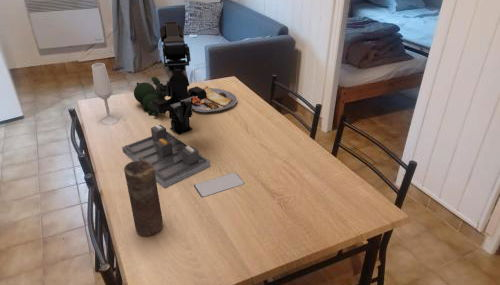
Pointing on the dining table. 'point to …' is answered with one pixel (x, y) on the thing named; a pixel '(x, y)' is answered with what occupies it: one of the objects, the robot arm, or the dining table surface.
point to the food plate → (214, 100)
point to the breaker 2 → (190, 155)
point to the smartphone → (218, 184)
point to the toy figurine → (148, 95)
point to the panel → (165, 160)
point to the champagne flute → (103, 88)
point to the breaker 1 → (158, 132)
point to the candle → (143, 197)
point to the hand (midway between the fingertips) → (181, 121)
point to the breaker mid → (164, 147)
